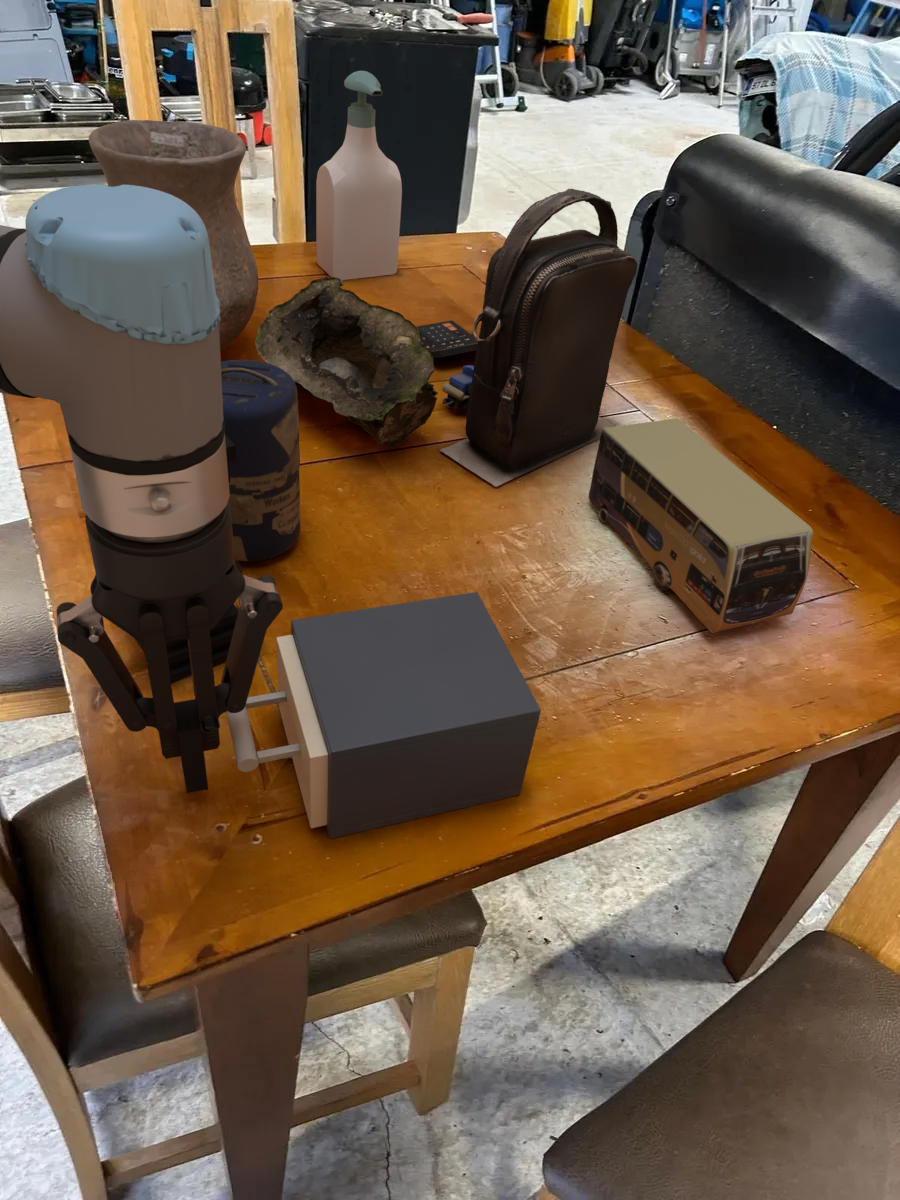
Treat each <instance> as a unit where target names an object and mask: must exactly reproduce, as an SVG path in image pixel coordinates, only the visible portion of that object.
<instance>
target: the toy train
mask: <svg viewBox="0 0 900 1200" xmlns="http://www.w3.org/2000/svg"><path fill="white" fill-rule="evenodd" d="M473 370H474V365H472V364H471V365H470V364H467V365H463V367H462V370H461V371H462V372H459V373H457V374H455V375H452V376H450V377H449V383H448V382H444V383H443V384H442V385H441V391H442V392H443V393H445V394H447V397H444V398H443V399H442V404H443V405H446V406H447V407H448V408H453V409H455V410H460V409H462V412H463V414H465V415H466V411H467V407H468V403H469V396H470V390H471V386H472V378H473Z"/></svg>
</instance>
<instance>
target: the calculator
mask: <svg viewBox="0 0 900 1200" xmlns="http://www.w3.org/2000/svg"><path fill="white" fill-rule="evenodd" d="M416 327H417V328H418V330H419V336H420V339H421V342H422V344H423V345H424V346H426V347H427V348H428V349H429V350H430V351H431V355H432V356H433V359H438V358H443V357H444V358H445V357H449V356H450V357H451V356H454V355H459V354H464V353H469V352H470V353H471V352H474V351H477V344H478V342H477V341H475V339H474V338H473V336H472V335H471V334H472V333H470V332H468V331H467V330H465V328H463V327H461V326H460V324H457V323H456V322H455V321H454V320H452V319H451V320H447V321H441V322H435V323H429V324H423V325H417V326H416Z"/></svg>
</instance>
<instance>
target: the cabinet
mask: <svg viewBox="0 0 900 1200" xmlns="http://www.w3.org/2000/svg"><path fill="white" fill-rule="evenodd" d="M290 625H291V626H290V633H291V634H290V635H293V638H294V641H295V644H296V648H297V651H298V654H299V658H300V661H301V664H302V668H303V671H304V674H305V678H306V681H307V684H308V688H309V691H310V694H311V698H312V701H313V702H314V705H315V709H316V712H317V715H318V719H319V722H320V725H321V729H322V732H323V735H324V739H325V742H326V745H327V749H328V821H327V825H325V828H326V831H327V835H328V838H329V840H332V839H336V838H340V837H345V836H349V835H353V834H357V833H363V832H366V831H370V830H375V829H379V828H383V827H387V826H391V825H396V824H401V823H405V822H409V821H414V820H417V819H422V818H426V817H427V818H428V817H430V816H435V815H439V814H443V813H448V812H452V811H456V810H461V809H465V808H469V807H473V806H478V805H483V804H487V803H490V802H496V801H499V800H504V799H509V798H512V797H516V796H517V797H518V796H520V795H521V793H522V788H523V784H524V780H525V777H526V772H527V768H528V765H529V760H530V756H531V753H532V748H533V744H534V740H535V737H536V732H537V729H538V724H539V720H540V716H541V712H542V710H541V707H540V706H539V704H538V702H537V700H536V698H535V696H534V695H533V692H532V690H531V688H530V687H529V685H528V683H527V681H526V680H525V678H524V676H523V674H522V671H521V670H520V668H519V667H518V665H517V663H516V661H515V660H514V659H515V658H514V657H513V656H512V654H511V652H510V650H509V648H508V646H507V644H506V643H505V641H504V638H503V637H502V635H501V633H500V631H499V629H498V628H497V626H496V624H495V622H494V620H493V619H492V616H491V615H490V613H489V611H488V609H487V608H486V605H485V603H484V601H483V600H482V598H481V596H480V594H479V592H477V591H474V592H468V593H467V592H466V593H461V594H454V595H448V596H440V597H435V598H428V599H421V600H416V601H408V602H402V603H396V604H395V603H394V604H389V605H381V606H375V607H370V608H368V607H367V608H363V609H357V610H350V611H349V610H348V611H344V612H336V613H331V614H324V615H317V616H309V617H304V618H296V619H292V620H290Z"/></svg>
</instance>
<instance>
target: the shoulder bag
mask: <svg viewBox="0 0 900 1200" xmlns="http://www.w3.org/2000/svg"><path fill="white" fill-rule="evenodd" d="M580 202H585V203H588V204H590V205H591V206H592V207H593V208H594V210H595V212H596V215H597V219H598V225H599V232H598V235H597V234H595V233H593V232H591V231H589V230H587V229H582V228H581V229H573V230H567V231H565V232H562V233H559V234H553V235H547V236H544V237H543V236H542V237H539V238H535V239H533V238H534V236H535V235H537V233H538V232H539V230H540V229H541V228H542V227H543V226H544V225H545V224H546V223H547V222H548V221H550V220H551V219H552V217H553V216H554V215H556V214H558V213H559V212H560V211H562V210H563V209H565V208H567V207H569V206H572V205H573V204H578V203H580ZM618 230H619V229H618V221H617V217H616V213H615V210H614V208H613V207H612V202H611V201H609V200H606V199H605V198H602V197H601V196H599V195H597V194H594V193H591V192H589V191H585V190H580V189H574V188H567V189H566V190H564V191H559V192H557V193H553V194H551V195H548V196H546V197H544V198H543V199H540V200H537V201H535V202H534V203H532V204H531V205H530V206H529V207H528V208H527V209H526V210H525V211H523V213H522V214H521V215H520V216H519V218H518V219H517V220H516V222H515V223H514V224H513V226H512V228H511V230H510V232H509V233H508V234H507V236H506V238H505V240H504V243H503V245H502V246H501V247H500V248H498V249H497V250H495V251H494V253H493V254H492V256H491V257H490V260H489V262H488V266H487V270H486V279H485V287H484V294H483V303H482V304H483V305H482V311H481V312H479V313H478V314H477V316H476V318H475V319H474V320H473V324H472V328H471V329H472V330H471V333H470V334H471V335H472V336H473V338H474V339H475V341H477V342H478V344H477V350H476V352H475V356H474V363H473V366H474V370H473V378H472V386H471V390H470V396H469V403H468V407H467V411H466V414H465V427H464V429H465V435H466V438H464V439H462V440H460V441H457V442H455V443H454V444H450V445H447V446H446V447H443V448H441V449H439V452H442V453H443V454H445V456H448V457H449V458H450V459H452V460H453V461H455V462H457V463H459V465H461V466H463V467H464V468H466V469H467V470H469V471H470V472H472V473H474V474H475V475H477V476H479V477H480V478H481V479H483V480H485V481H486V482H488V483H489V484H491V485H492V486H493V487H496V488H497V487H500V486H501V485H503V484H505V483H508V482H509V481H511V480H513V479H517V478H518V477H520V476H522V475H524V474H527V473H528V472H530V471H533V470H536V469H537V468H539V467H542V466H544V465H546V464H548V463H550V462H552V461H554V460H557V459H559V458H561V457H563V456H565V455H567V454H570V453H571V452H574V451H576V450H578V449H580V448H582V447H584V446H587V445H589V444H591V443H593V442H595V441H598V440H600V437H601V432H602V429H603V428H608V427H615V426H616V425H615V424H614V423H612V422H610V421H608V420H606V419H605V418H603V417H601V416H600V411H601V406H602V403H603V402H602V401H603V399H604V398H603V397H604V393H605V390H606V386H607V380H608V376H609V375H608V374H609V369H610V363H611V359H612V355H613V351H614V347H615V342H616V338H617V334H618V330H619V327H620V323H621V319H622V315H623V311H624V309H625V308H624V307H625V304H626V300H627V297H628V293H629V290H630V288H631V285H632V282H633V280H634V278H635V275H636V274H637V270H638V261H637V260H636V259H635V257H634V256H633V255H632V254H631V253H630V252H627V251H626V250H623V249H622V248H620V247H619V245H618V241H619V239H618V238H619V237H618V236H619V235H618V233H619V232H618ZM479 323H480V328H479V334H478V335H477V329H478V325H479Z"/></svg>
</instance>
